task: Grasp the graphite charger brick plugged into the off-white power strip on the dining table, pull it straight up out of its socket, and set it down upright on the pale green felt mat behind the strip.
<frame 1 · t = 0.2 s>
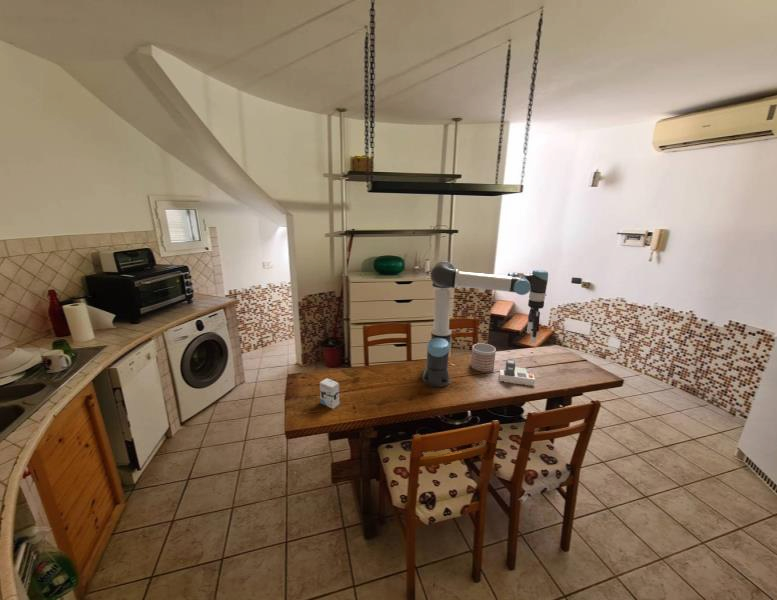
hand: (531, 337, 176), 27 cm above the table, fingers open, 13 cm apart
ink box: (329, 404, 159), on the table
planter: (482, 367, 200), on the table
power strip: (516, 380, 184), on the table
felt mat: (518, 371, 194), on the table
charger: (509, 376, 184), point 2 cm above the table, touching power strip
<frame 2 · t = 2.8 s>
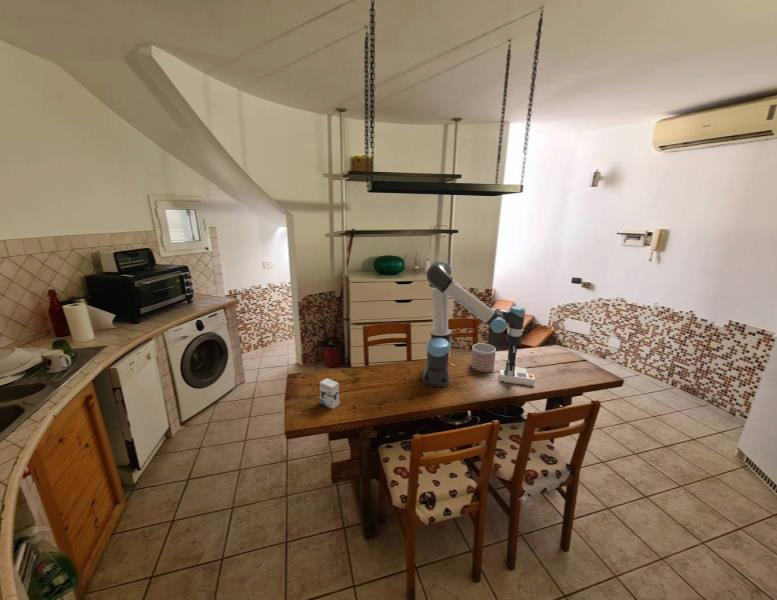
hand: (509, 372, 184), 4 cm above the table, fingers closed on power strip, 5 cm apart
nothing on the table moved.
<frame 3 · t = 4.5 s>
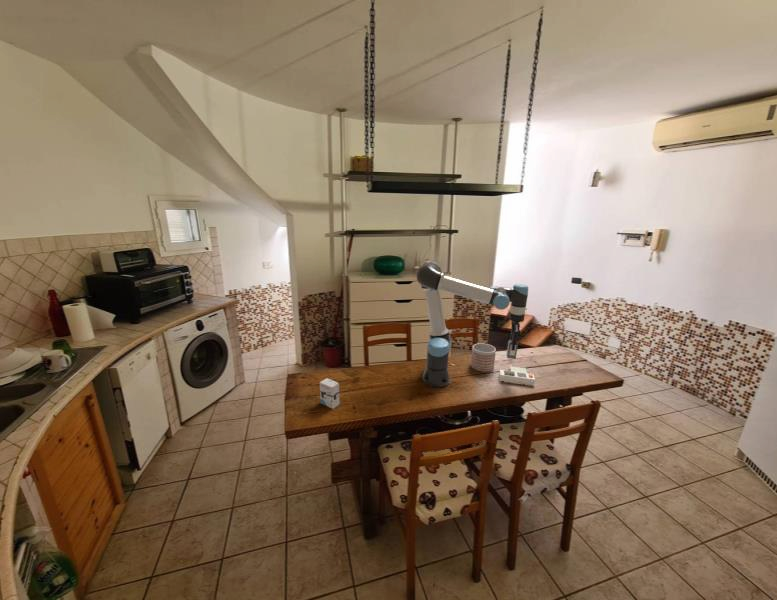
hand: (511, 353, 180), 16 cm above the table, fingers closed on charger, 4 cm apart
charger: (511, 356, 181), point 14 cm above the table, touching gripper
everything else where it was.
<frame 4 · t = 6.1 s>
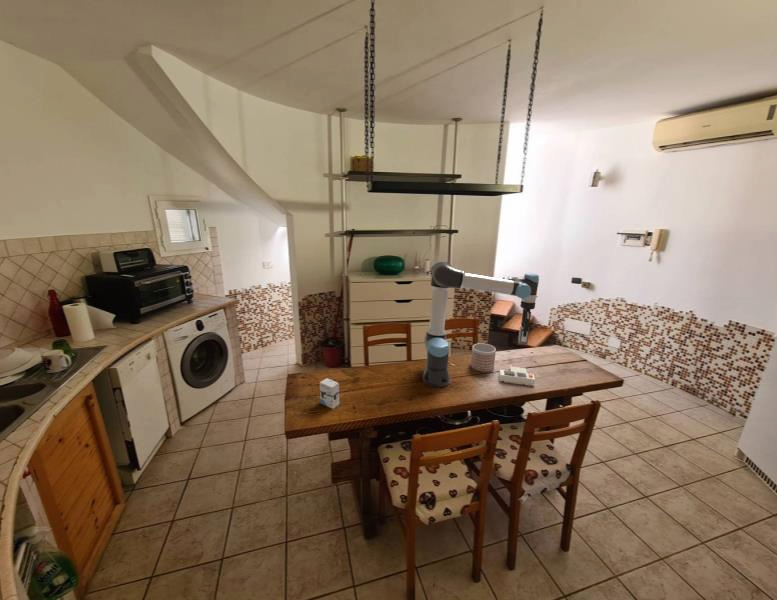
hand: (523, 339, 189), 21 cm above the table, fingers closed on charger, 4 cm apart
charger: (522, 343, 189), point 18 cm above the table, touching gripper
everything else where it was.
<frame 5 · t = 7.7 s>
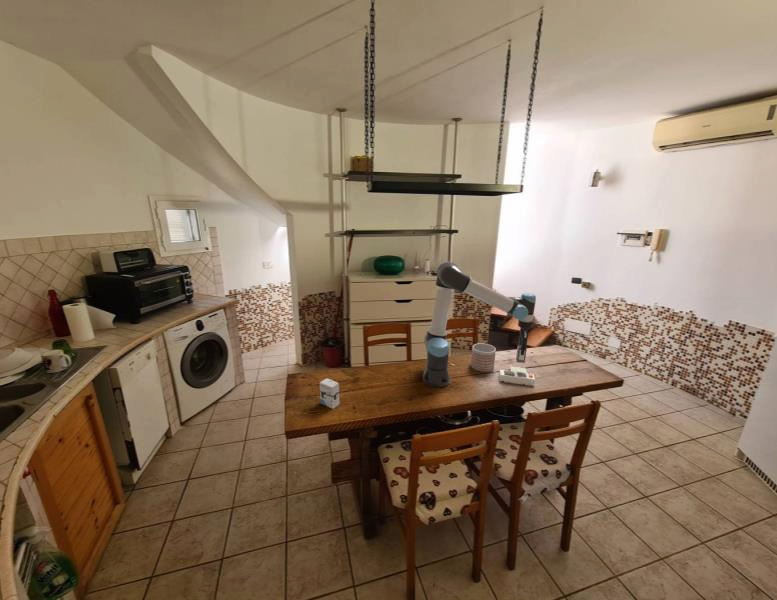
hand: (520, 357, 192), 9 cm above the table, fingers closed on charger, 4 cm apart
charger: (520, 360, 193), point 7 cm above the table, touching gripper
everything else where it was.
when the fingers open (4 cm above the table, at t = 8.8 s): charger drops 1 cm, resting on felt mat.
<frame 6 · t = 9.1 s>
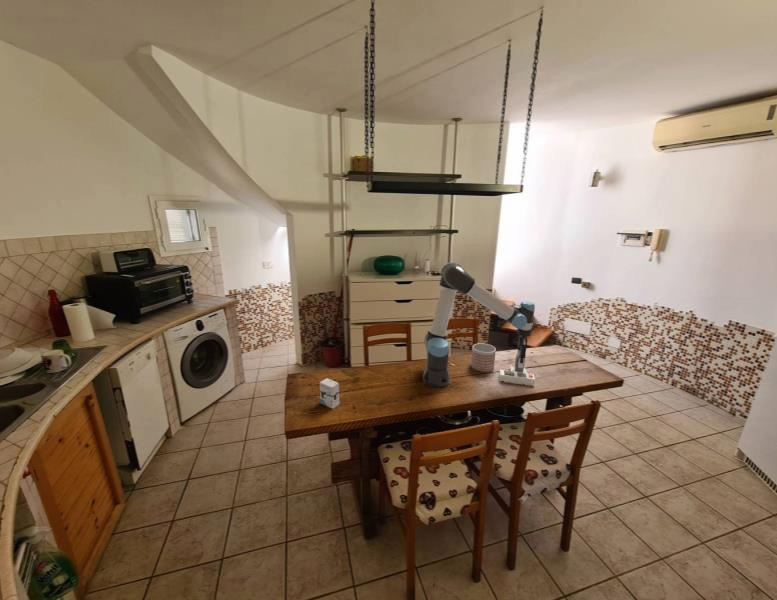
hand: (519, 363, 193), 5 cm above the table, fingers open, 9 cm apart
charger: (518, 370, 194), point 1 cm above the table, touching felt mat
everything else where it was.
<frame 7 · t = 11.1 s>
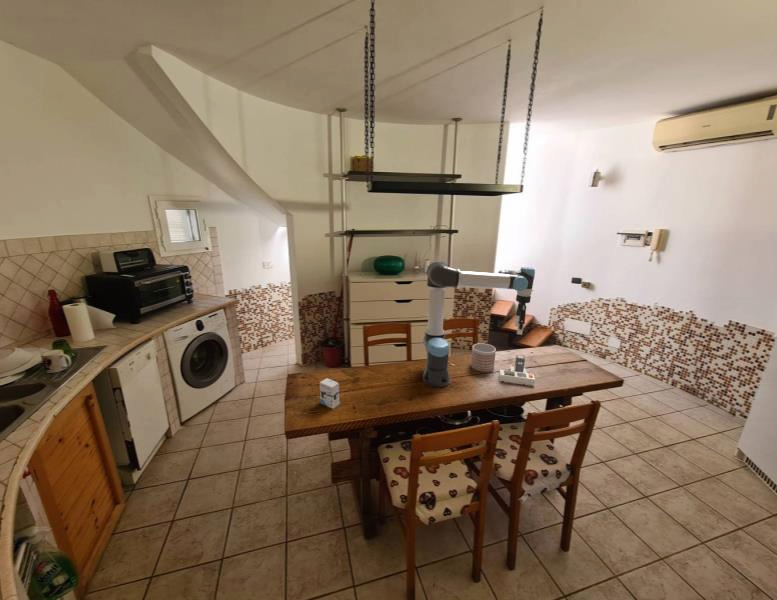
hand: (518, 330, 189), 26 cm above the table, fingers open, 13 cm apart
nothing on the table moved.
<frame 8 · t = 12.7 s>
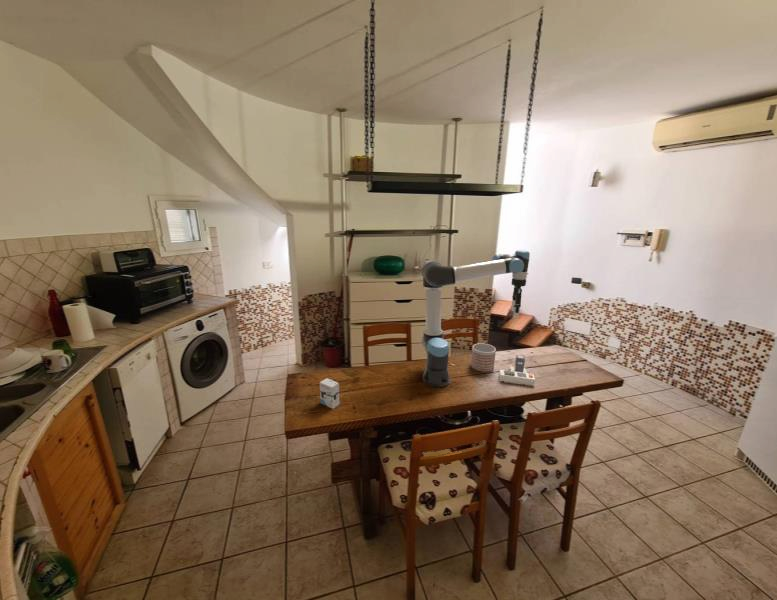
hand: (514, 314, 188), 35 cm above the table, fingers open, 13 cm apart
nothing on the table moved.
at the end: charger inside the target area on the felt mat (0.1 cm from its centre), point 0.6 cm above the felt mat's base; charger tilted 0°; the gripper is holding nothing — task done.
